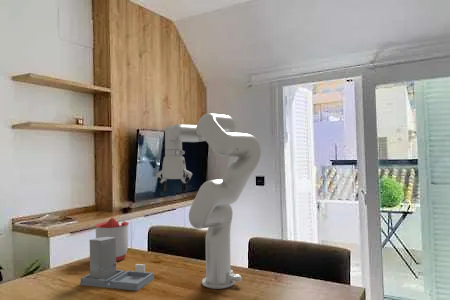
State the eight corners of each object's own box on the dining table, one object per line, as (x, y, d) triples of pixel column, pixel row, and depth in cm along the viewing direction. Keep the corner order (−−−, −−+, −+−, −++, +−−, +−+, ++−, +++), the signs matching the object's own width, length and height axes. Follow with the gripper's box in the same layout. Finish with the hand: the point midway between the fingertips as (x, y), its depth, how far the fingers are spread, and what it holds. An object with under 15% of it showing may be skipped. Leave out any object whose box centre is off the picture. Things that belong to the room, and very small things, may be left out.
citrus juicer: (135, 254, 179) (134, 214, 180) (121, 264, 162) (121, 220, 162) (105, 253, 181) (105, 214, 181) (89, 263, 163) (89, 220, 164)
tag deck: (154, 278, 141) (154, 265, 141) (137, 290, 129) (137, 275, 129) (100, 274, 148) (100, 260, 148) (79, 284, 136) (79, 270, 136)
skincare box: (100, 282, 135) (100, 241, 135) (88, 279, 139) (88, 239, 139) (117, 276, 142) (117, 236, 143) (105, 273, 146) (105, 235, 146)
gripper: (194, 153, 159) (195, 191, 159) (160, 154, 164) (160, 191, 163) (188, 153, 152) (188, 193, 151) (152, 154, 157) (152, 192, 156)
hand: (174, 191), depth 157 cm, fingers open, 9 cm apart
